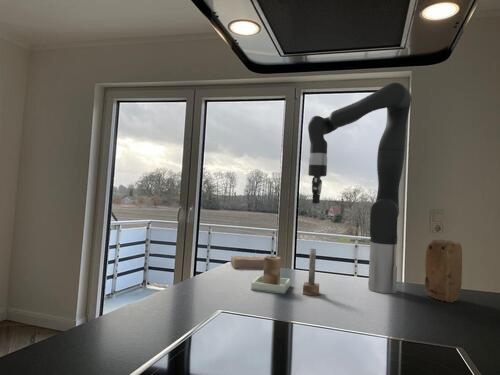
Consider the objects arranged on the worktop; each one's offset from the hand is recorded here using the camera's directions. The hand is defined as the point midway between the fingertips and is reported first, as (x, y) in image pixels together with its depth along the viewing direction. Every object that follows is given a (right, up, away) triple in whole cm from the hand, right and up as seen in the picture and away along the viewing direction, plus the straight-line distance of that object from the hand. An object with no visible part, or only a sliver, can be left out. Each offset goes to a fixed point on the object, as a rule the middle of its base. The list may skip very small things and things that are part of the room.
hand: (316, 203), depth 149 cm
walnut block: (-20, -28, -23) cm, 42 cm away
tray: (-20, -29, -23) cm, 42 cm away
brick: (-28, -30, +11) cm, 42 cm away
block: (+38, -32, -27) cm, 56 cm away
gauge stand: (-7, -29, -28) cm, 41 cm away
